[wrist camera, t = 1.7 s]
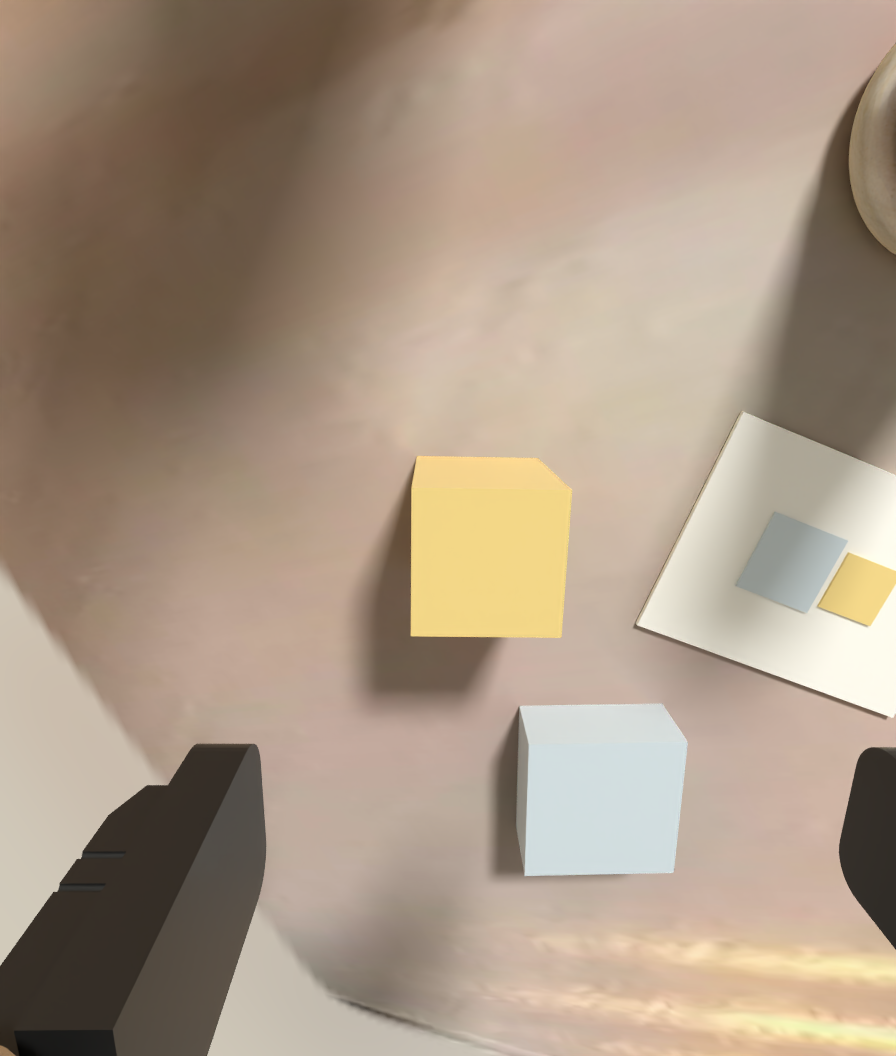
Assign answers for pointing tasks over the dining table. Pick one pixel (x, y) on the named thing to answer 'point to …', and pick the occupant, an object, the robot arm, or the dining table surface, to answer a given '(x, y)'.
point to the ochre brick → (488, 547)
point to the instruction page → (789, 566)
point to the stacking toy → (876, 153)
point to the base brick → (598, 789)
